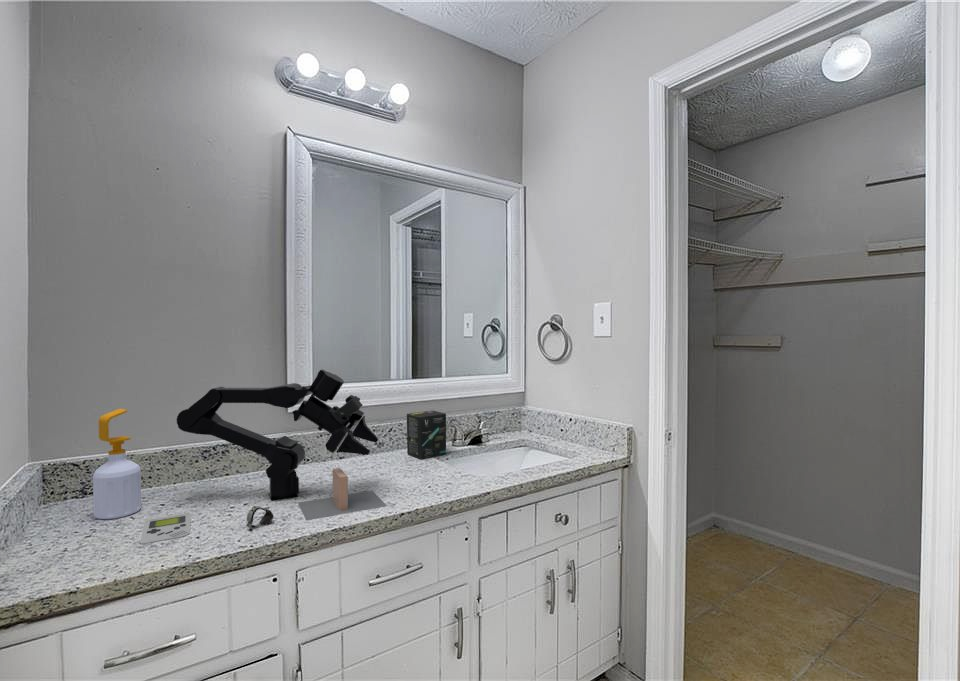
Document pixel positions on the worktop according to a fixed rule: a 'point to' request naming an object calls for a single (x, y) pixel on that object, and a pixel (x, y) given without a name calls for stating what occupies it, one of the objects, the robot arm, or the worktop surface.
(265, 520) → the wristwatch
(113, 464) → the soap bottle
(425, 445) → the tampon box
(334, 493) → the tile
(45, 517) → the worktop surface
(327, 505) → the mat
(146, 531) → the handheld gaming device
